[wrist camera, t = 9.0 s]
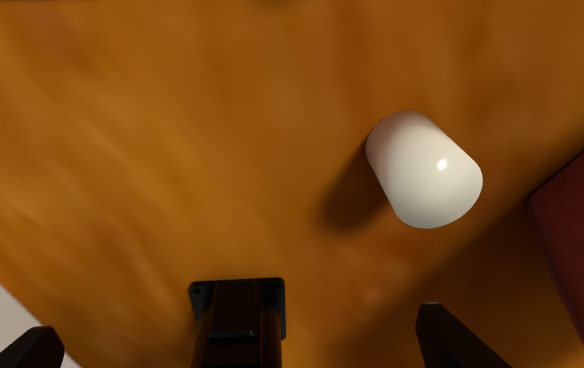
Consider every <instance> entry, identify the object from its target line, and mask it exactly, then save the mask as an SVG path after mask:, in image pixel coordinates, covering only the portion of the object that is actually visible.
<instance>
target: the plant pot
mask: <svg viewBox="0 0 584 368" xmlns="http://www.w3.org/2000/svg"><path fill="white" fill-rule="evenodd" d="M526 210H527V214H528V217H529V221H530V224H531V227H532V230H533V233H534V235H535V238H536V241H537V244H538V247H539V250H540V252H541V254H542V257H543V259H544V262H545V264H546V267H547V269H548V271H549V274H550V276H551V279H552V281H553V283H554V285H555V288H556V290H557V292H558V294H559V296H560V299H561V301H562V303H563V305H564V307H565V309H566V311H567V313H568V315H569V317H570V319H571V321H572V323H573V325H574V327H575V329H576V331H577V333H578V335H579V337H580V339H581V341H582V343H583V345H584V153H583V154H581V155H580V156H579V157H578V158H577V159H575V160H574V161H573V162H572V163H571V164H569V165H568V166H567V167H566V168H564V169H563V170H562V171H561V172H560V173H558V174H557V175H556V176H555V177H553V178H552V179H551V180H550V181H549V182H547V183H546V184H545V185H544V186H543V187H541V188H540V189H539V190H538V191H536V192H535V193H534V194H533V195H532V196H531V197H530V198H529V200H528V202H527V204H526Z"/></svg>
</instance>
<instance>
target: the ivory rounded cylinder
mask: <svg viewBox="0 0 584 368" xmlns="http://www.w3.org/2000/svg"><path fill="white" fill-rule="evenodd" d="M365 150H366V156H367V159H368V161H369V163H370V165H371V167H372V169H373V171H374V173H375V175H376V177H377V179H378V181H379V182H380V184H381V186H382V188H383V190H384V192H385V194H386V196H387V198H388V200H389V202H390V203H391V205H392V207H393V209H394V211H395V213H396V214H397V216H398V217H399V218H400V219H401V220H402V221H403V222H404V223H406V224H408V225H410V226H413V227H417V228H435V227H440V226H443V225H446V224H449V223H451V222H453V221H455V220H457V219H458V218H460V217H461V216H462V215H464V214H465V213H466V212H467V211H468V210H469V209H470V208H471V207H472V206H473V205H474V203H475V202H476V200H477V199H478V197H479V195H480V192H481V189H482V182H483V179H482V173H481V170H480V168H479V166H478V165H477V164H476V163H475V162H474V161H473V160H472V159H471V158H470V157H469V156H468V155H467V154H466V153H465V152H464V151H463V150H462V149H461V148H460V147H458V146H457V145H456V144H455V143H454V142H453V141H452V140H451V139H450V138H449V137H448V136H447V135H446V134H445V133H444V132H442V131H441V130H440V129H439V128H438V127H437V126H436V125H435V124H434V123H433V122H432V121H431V120H430V119H429V118H428V117H426V116H425V115H423V114H421V113H419V112H416V111H399V112H395V113H392V114H390V115H388V116H386V117H385V118H383V119H382V120H380V121H379V122H378V123H377V124H376V125H375V126H374V128H373V129H372V130H371V132H370V134H369V136H368V138H367V141H366V149H365Z"/></svg>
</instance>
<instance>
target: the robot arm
mask: <svg viewBox="0 0 584 368" xmlns="http://www.w3.org/2000/svg"><path fill="white" fill-rule="evenodd" d="M277 284H278V285H277ZM190 296H191V300H192V305H193V309H194V313H195V318H196V322H197V326H198V331H197V336H196V341H195V347H194V352H193V357H192V363H191V368H282V352H281V340H284V339H285V338H286V318H285V283H284V280H283V279H282V278H259V279H240V280H220V281H201V282H194V283H192V284H191V286H190ZM415 328H416V334H417V338H418V341H419V345H420V349H421V352H422V356H423V360H424V363H425V367H426V368H512V367H511V366H510V365H509V364H507V363H506V362H505V361H504V360H503V359H502V358H501V357H500V356H498V355H497V354H496V353H495V352H494V351H493V350H492V349H491V348H490V347H488V346H487V345H486V344H485V343H484V342H483V341H482V340H481V339H479V338H478V337H477V336H476V335H475V334H474V333H473V332H472V331H470V330H469V329H468V328H467V327H466V326H465V325H464V324H463V323H461V322H460V321H459V320H458V319H457V318H456V317H455V316H454V315H452V314H451V313H450V312H449V311H448V310H447V309H446V308H445V307H443V306H442V305H441V304H440V303H438V302H425V303H422V304H421V305H420V308H419V312H418V316H417V320H416V324H415ZM63 357H64V345H63V343H62V341H61V340H60V338H59V336H58V334H57V333H56V331H55V329H54V328H53V327H51V326H37V327H33V328H31V329H29V330H28V331H27V332H25V333H24V334H23V335H21V336H20V337H19V338H18V339H16V340H15V341H14V342H13V343H12V344H10V345H9V346H8V347H7V348H5V349H4V350H3V351H2V352H0V368H60V367H61V364H62V361H63Z"/></svg>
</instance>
